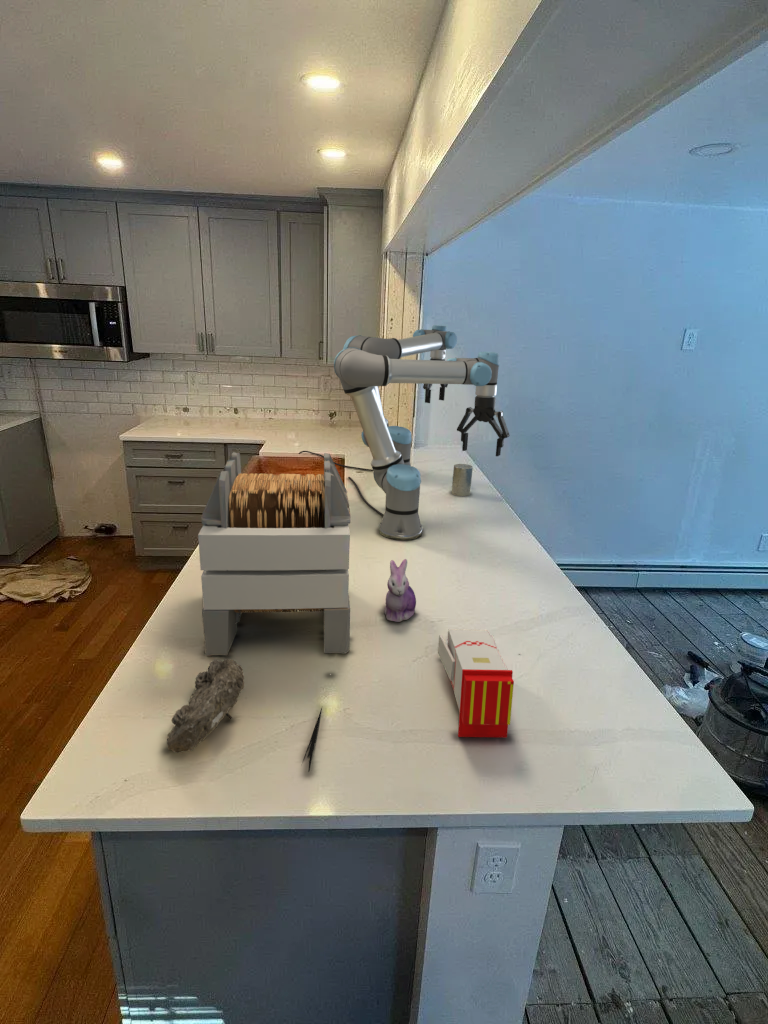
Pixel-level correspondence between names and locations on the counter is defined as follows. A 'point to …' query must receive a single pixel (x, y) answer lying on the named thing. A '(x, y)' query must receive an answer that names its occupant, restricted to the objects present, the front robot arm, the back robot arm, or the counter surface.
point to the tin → (462, 479)
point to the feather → (313, 740)
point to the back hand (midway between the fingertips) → (434, 401)
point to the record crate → (275, 551)
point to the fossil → (206, 705)
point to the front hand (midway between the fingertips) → (481, 452)
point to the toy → (478, 682)
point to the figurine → (399, 594)
